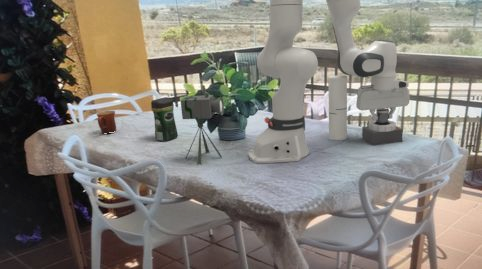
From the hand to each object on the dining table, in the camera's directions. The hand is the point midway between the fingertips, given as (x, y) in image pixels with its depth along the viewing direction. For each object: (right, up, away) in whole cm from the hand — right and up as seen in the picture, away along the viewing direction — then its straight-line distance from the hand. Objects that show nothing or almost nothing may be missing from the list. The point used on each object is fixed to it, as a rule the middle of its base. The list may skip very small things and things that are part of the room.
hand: (382, 119), depth 156 cm
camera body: (+1, -8, +2) cm, 9 cm away
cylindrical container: (-15, -7, +10) cm, 19 cm away
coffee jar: (-88, -8, +26) cm, 92 cm away
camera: (-68, -15, -3) cm, 70 cm away
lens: (0, -3, +1) cm, 3 cm away
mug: (-120, -6, +42) cm, 127 cm away
